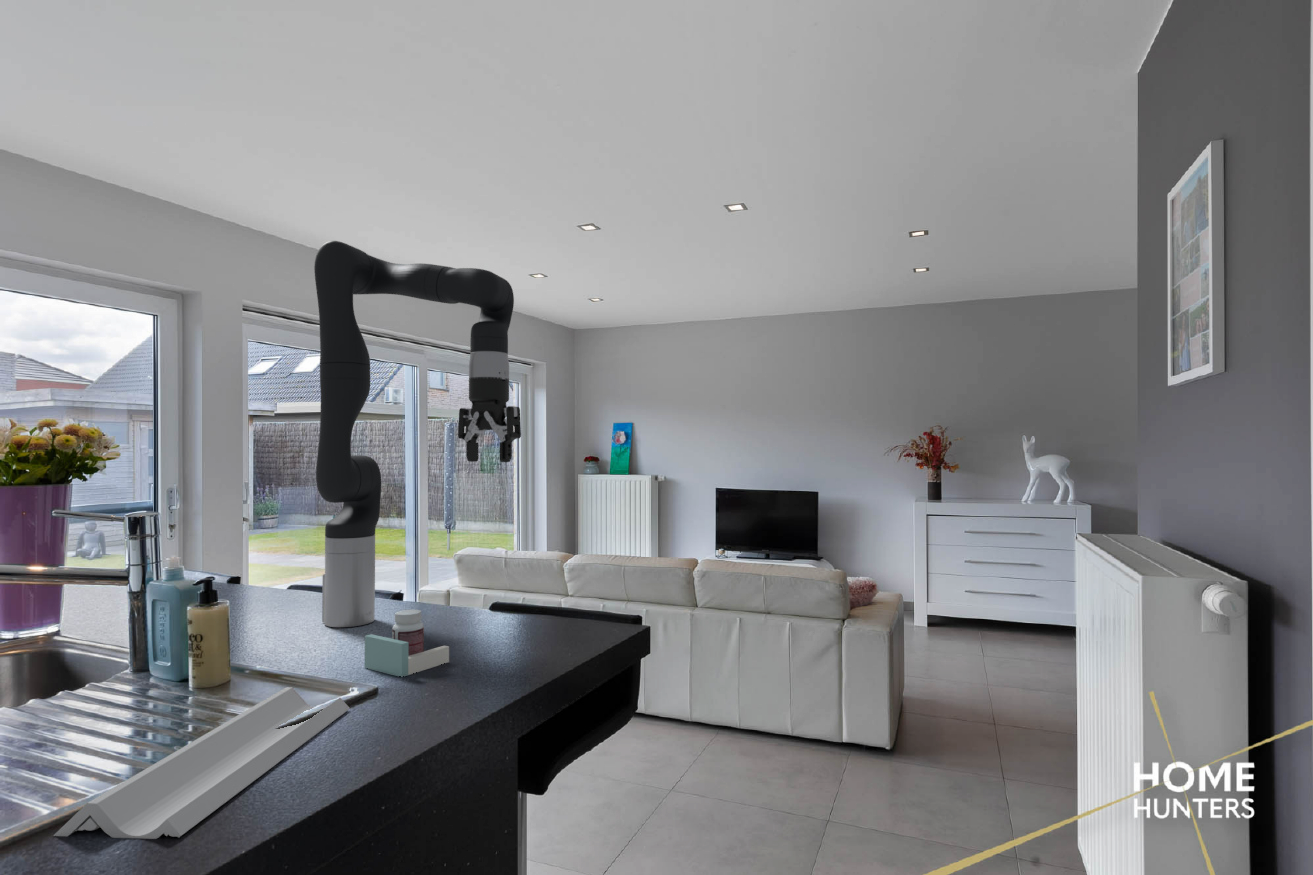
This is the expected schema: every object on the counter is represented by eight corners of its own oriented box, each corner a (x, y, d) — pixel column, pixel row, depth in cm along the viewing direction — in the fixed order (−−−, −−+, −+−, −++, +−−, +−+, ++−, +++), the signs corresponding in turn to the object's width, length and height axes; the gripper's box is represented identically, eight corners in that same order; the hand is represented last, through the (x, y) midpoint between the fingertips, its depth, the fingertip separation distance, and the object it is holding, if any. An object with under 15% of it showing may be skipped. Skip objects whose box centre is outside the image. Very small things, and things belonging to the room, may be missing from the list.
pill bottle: (430, 662, 116) (430, 610, 116) (408, 670, 112) (408, 616, 112) (407, 658, 118) (408, 607, 118) (385, 666, 114) (385, 613, 114)
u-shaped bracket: (364, 667, 113) (364, 635, 113) (412, 653, 121) (412, 623, 121) (401, 677, 108) (401, 643, 108) (449, 661, 116) (449, 630, 116)
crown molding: (179, 847, 63) (179, 805, 63) (49, 844, 64) (49, 803, 64) (348, 715, 94) (348, 687, 94) (260, 714, 95) (260, 686, 95)
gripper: (448, 377, 138) (447, 461, 137) (502, 373, 130) (502, 462, 130) (477, 380, 144) (476, 461, 144) (530, 376, 137) (530, 462, 136)
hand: (488, 461), depth 137 cm, fingers open, 8 cm apart
